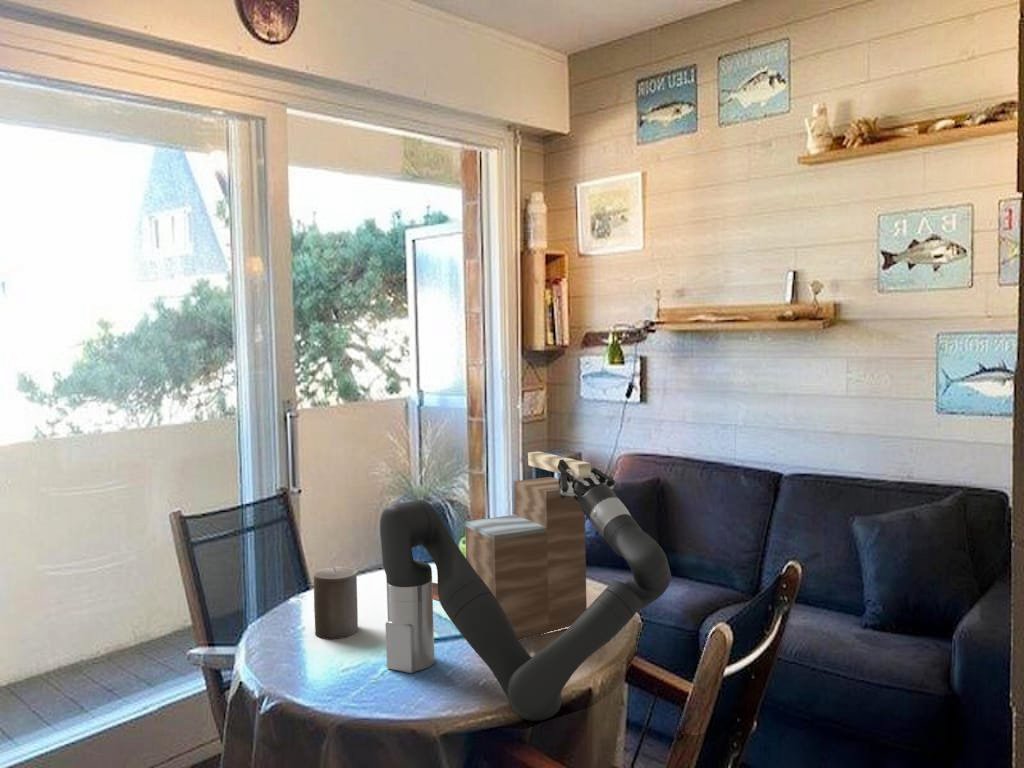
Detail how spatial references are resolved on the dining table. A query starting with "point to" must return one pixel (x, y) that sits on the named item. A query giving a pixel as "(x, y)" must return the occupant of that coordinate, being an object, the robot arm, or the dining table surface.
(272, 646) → the dining table surface
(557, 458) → the maple rod
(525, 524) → the block
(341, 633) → the pillar candle
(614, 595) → the robot arm
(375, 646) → the dining table surface
